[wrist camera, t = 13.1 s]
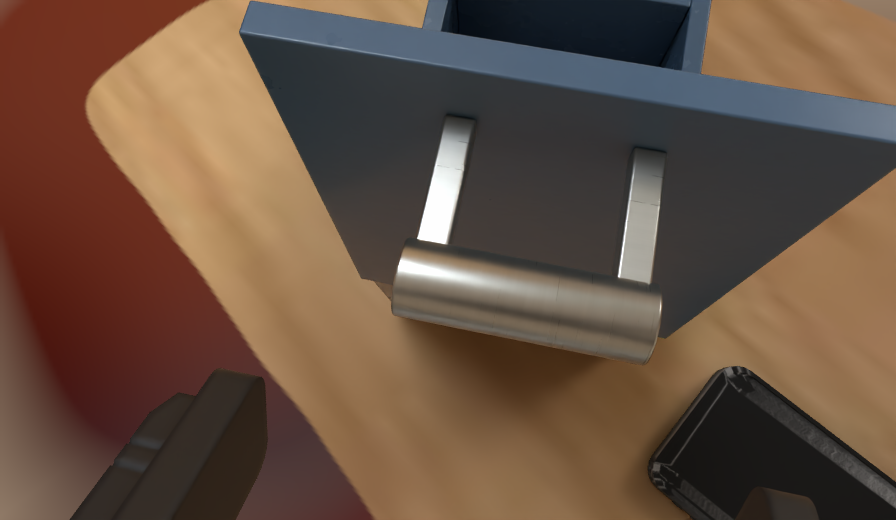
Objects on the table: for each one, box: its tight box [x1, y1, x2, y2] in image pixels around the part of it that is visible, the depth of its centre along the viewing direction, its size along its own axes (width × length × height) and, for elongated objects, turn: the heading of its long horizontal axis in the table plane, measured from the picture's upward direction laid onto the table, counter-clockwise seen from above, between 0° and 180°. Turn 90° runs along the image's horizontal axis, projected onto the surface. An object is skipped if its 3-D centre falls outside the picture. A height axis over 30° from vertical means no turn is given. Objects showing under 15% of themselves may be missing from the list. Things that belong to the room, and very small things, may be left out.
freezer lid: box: [239, 1, 896, 365], centre depth 20 cm, size 17×13×5 cm
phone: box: [648, 366, 896, 520], centre depth 35 cm, size 8×1×15 cm
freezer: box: [374, 0, 712, 301], centre depth 35 cm, size 16×13×9 cm
